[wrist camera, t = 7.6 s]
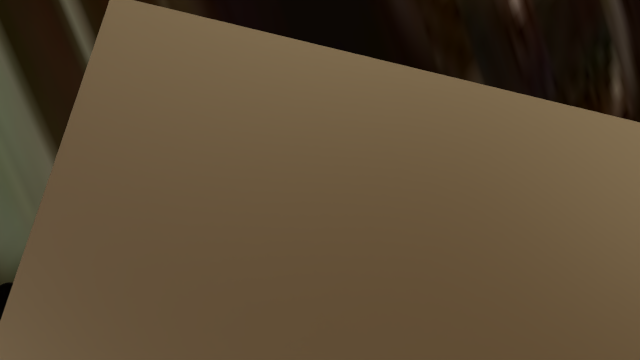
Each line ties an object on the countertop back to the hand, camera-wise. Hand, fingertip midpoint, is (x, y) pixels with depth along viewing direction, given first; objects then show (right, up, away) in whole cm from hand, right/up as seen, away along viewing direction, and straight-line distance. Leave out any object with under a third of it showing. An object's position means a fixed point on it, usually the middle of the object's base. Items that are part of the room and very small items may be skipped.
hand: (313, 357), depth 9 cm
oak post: (0, -1, +8) cm, 8 cm away
